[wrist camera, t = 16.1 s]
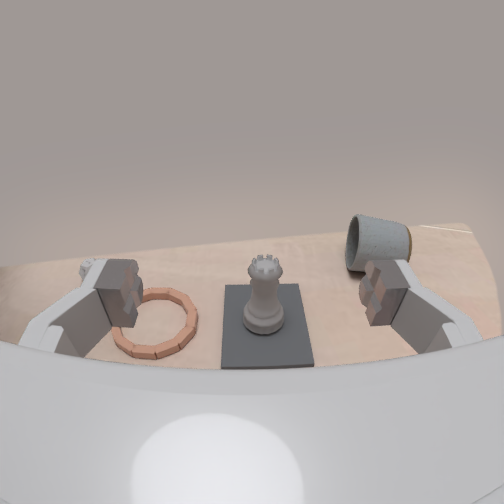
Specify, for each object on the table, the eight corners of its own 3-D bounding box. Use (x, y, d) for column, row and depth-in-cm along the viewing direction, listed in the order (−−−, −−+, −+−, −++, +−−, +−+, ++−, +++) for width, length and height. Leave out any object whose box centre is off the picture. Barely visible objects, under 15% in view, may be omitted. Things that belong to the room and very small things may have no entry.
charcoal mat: (221, 369, 28) (221, 366, 27) (225, 288, 37) (225, 284, 37) (313, 366, 28) (314, 363, 28) (297, 287, 38) (298, 283, 37)
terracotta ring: (103, 354, 28) (100, 349, 28) (126, 292, 36) (124, 287, 36) (192, 361, 28) (190, 355, 28) (201, 294, 37) (200, 287, 36)
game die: (98, 268, 41) (93, 251, 39) (109, 278, 39) (103, 261, 37) (79, 279, 38) (73, 263, 37) (89, 291, 36) (82, 274, 35)
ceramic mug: (404, 285, 38) (420, 237, 33) (349, 281, 38) (360, 231, 34) (387, 244, 46) (397, 201, 42) (340, 240, 47) (347, 196, 43)
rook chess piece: (247, 340, 30) (246, 281, 25) (239, 310, 34) (237, 251, 29) (289, 332, 31) (296, 273, 26) (277, 303, 34) (281, 246, 30)
